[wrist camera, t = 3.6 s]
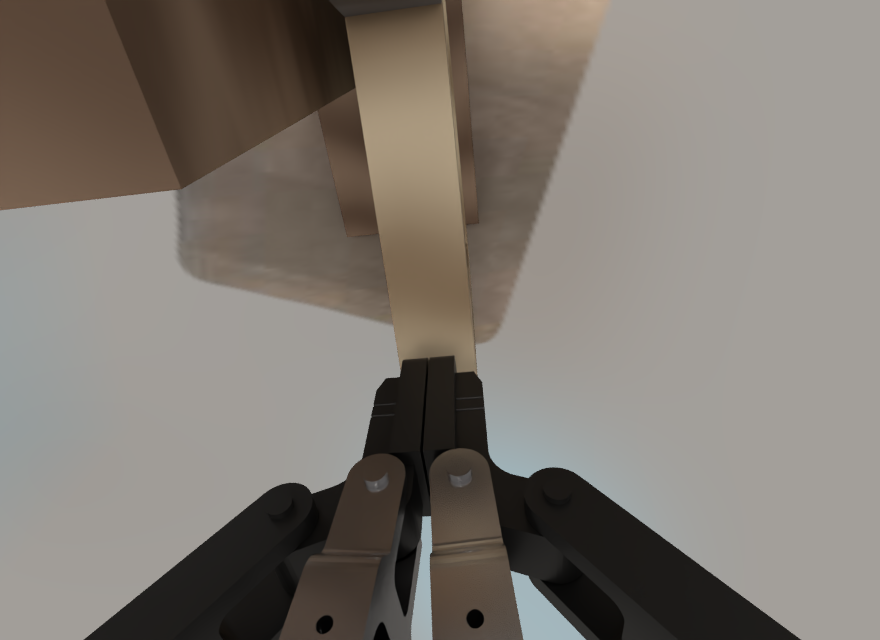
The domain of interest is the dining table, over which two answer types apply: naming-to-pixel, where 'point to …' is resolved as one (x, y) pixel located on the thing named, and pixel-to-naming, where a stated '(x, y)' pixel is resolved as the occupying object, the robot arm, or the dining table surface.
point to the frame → (415, 171)
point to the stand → (183, 96)
